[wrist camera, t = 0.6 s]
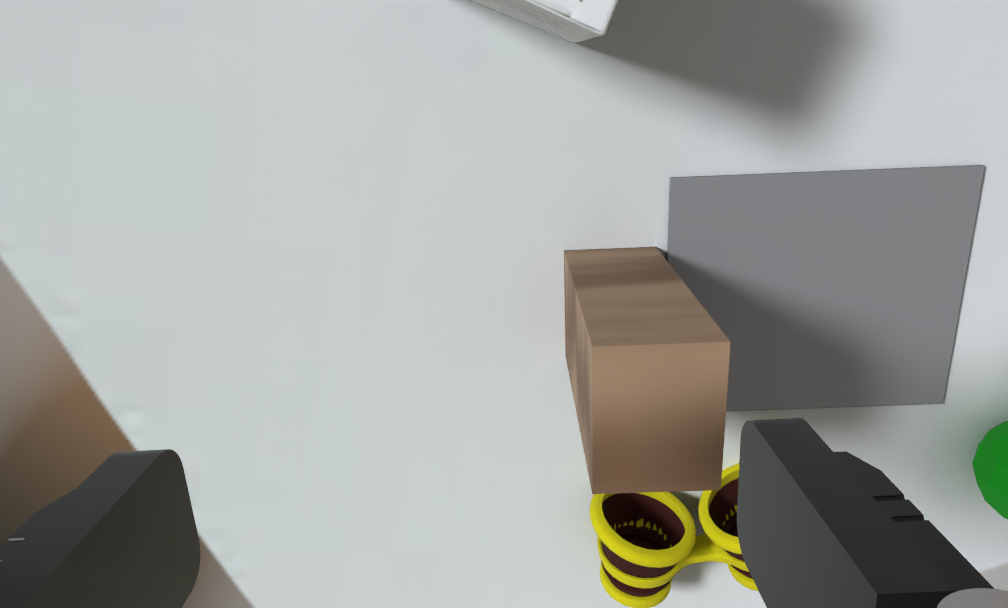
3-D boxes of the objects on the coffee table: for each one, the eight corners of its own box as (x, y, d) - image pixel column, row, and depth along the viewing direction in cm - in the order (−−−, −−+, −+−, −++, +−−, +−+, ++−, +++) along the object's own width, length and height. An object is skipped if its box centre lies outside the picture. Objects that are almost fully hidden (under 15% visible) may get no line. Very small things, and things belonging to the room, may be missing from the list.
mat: (670, 177, 30) (671, 178, 30) (981, 165, 30) (984, 165, 30) (661, 411, 34) (662, 413, 33) (940, 401, 33) (942, 403, 33)
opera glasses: (593, 546, 37) (608, 631, 33) (582, 472, 35) (597, 554, 30) (780, 520, 37) (820, 604, 32) (783, 443, 34) (827, 523, 30)
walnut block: (564, 250, 31) (592, 346, 21) (656, 246, 31) (730, 341, 21) (565, 355, 33) (592, 494, 22) (652, 352, 33) (720, 490, 22)
